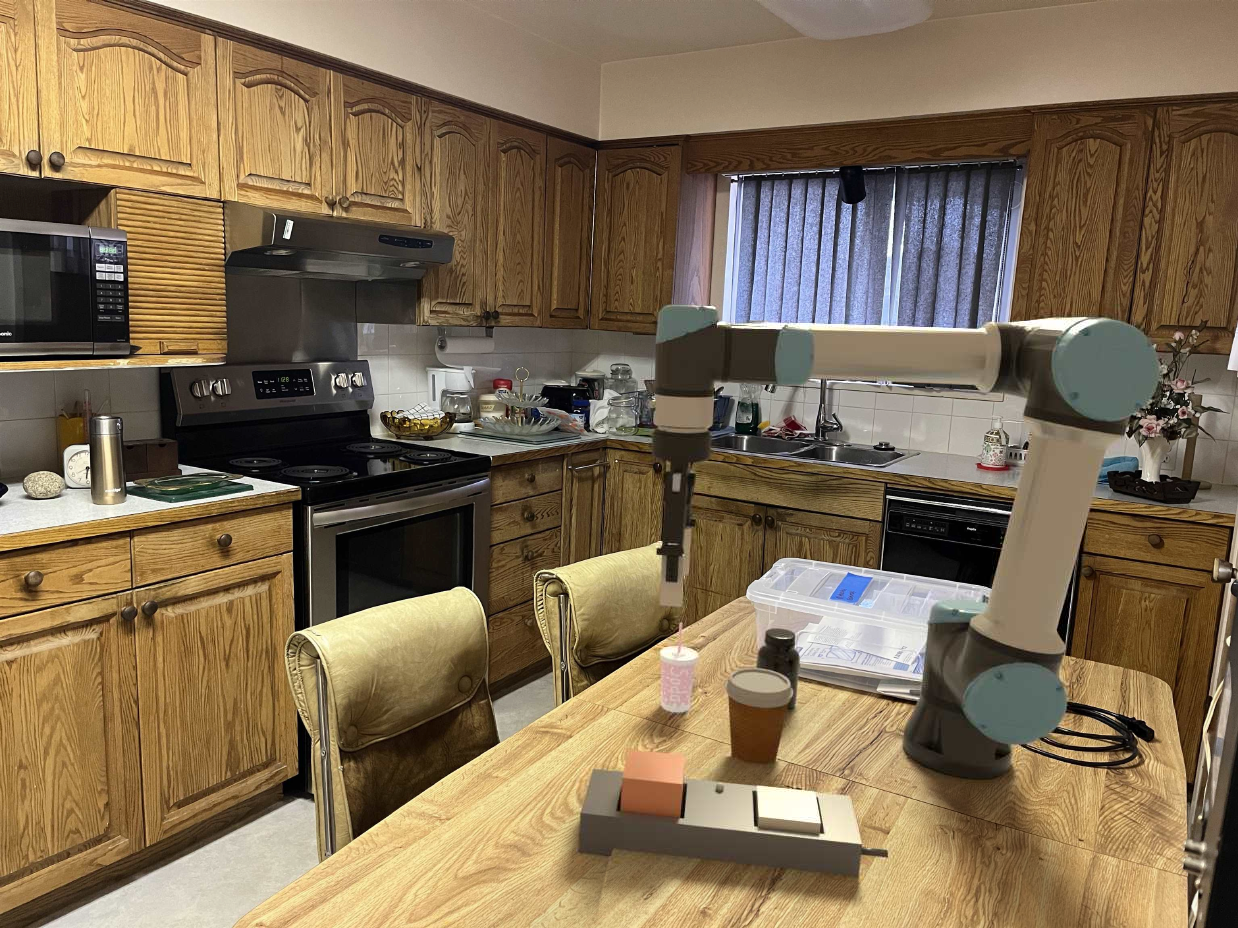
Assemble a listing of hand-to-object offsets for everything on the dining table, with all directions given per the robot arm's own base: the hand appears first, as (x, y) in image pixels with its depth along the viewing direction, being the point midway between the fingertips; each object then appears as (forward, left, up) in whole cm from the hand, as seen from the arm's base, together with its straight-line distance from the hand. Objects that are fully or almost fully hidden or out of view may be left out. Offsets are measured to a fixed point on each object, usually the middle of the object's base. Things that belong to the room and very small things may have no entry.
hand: (674, 589), depth 120 cm
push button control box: (-9, +14, -27) cm, 32 cm away
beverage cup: (0, -23, -27) cm, 36 cm away
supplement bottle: (-16, -28, -27) cm, 42 cm away
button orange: (+1, +14, -23) cm, 27 cm away
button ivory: (-15, +14, -26) cm, 33 cm away
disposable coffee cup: (-12, -8, -27) cm, 31 cm away
